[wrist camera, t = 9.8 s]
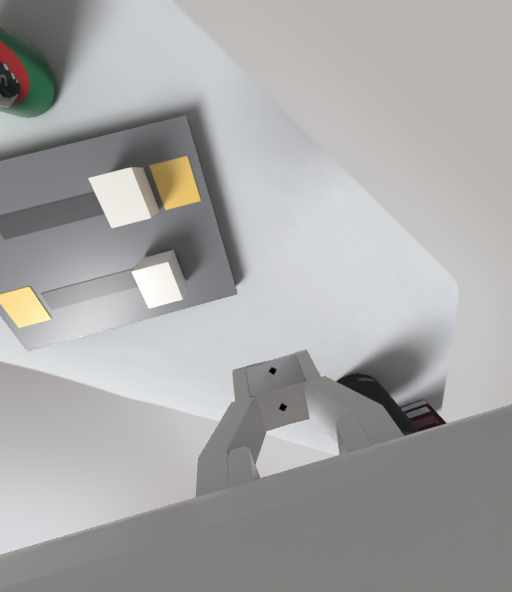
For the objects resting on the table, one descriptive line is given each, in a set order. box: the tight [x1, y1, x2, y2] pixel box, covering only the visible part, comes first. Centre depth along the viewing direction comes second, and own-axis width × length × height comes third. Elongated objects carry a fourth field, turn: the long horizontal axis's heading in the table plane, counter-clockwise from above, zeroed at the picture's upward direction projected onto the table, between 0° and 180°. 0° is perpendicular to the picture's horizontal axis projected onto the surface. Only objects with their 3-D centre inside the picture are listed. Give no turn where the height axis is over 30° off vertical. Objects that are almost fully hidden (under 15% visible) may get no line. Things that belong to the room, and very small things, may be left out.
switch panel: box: [0, 115, 237, 351], centre depth 25 cm, size 16×22×2 cm
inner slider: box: [88, 167, 159, 228], centre depth 21 cm, size 4×3×4 cm
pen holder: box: [337, 375, 420, 436], centre depth 36 cm, size 9×9×10 cm
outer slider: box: [131, 250, 186, 309], centre depth 24 cm, size 4×3×4 cm
